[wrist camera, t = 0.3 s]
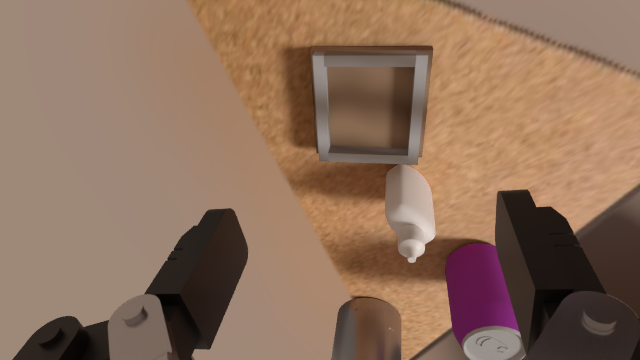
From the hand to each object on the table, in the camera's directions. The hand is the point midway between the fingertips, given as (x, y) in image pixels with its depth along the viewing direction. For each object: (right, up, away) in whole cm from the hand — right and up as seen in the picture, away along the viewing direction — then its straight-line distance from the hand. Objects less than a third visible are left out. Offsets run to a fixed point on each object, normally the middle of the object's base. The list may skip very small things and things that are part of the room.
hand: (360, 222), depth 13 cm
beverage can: (+18, -9, +38) cm, 43 cm away
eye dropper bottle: (+9, +1, +33) cm, 34 cm away
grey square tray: (+4, +9, +28) cm, 30 cm away
